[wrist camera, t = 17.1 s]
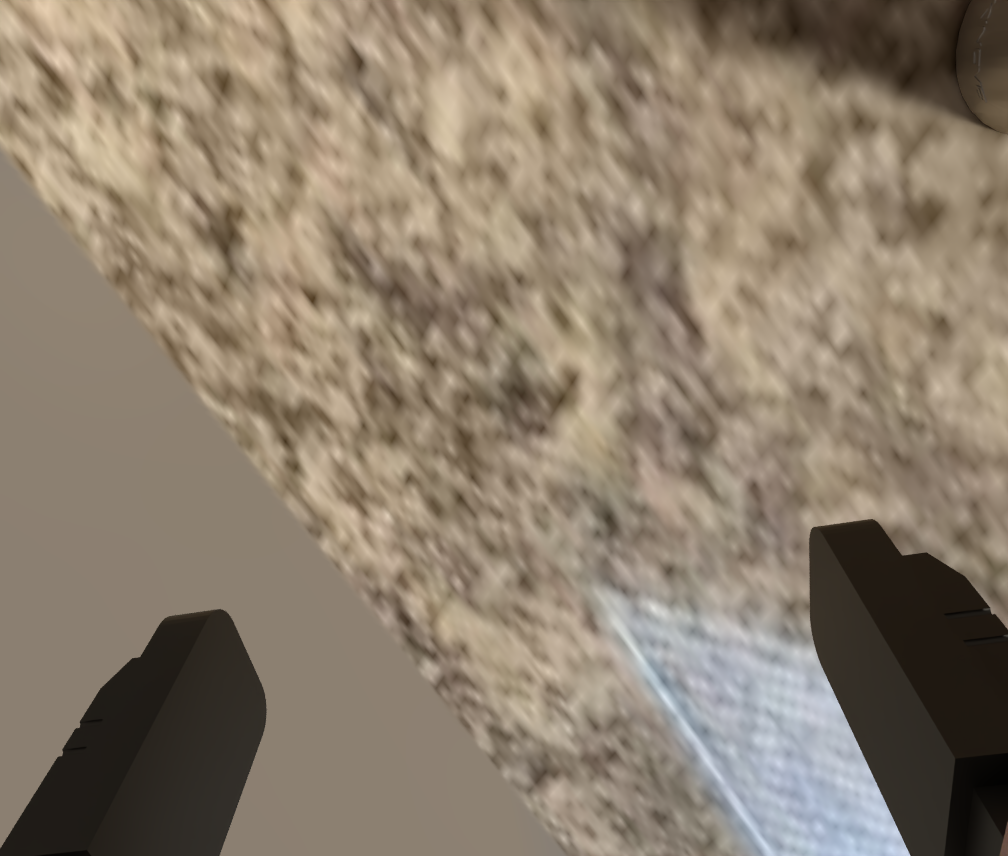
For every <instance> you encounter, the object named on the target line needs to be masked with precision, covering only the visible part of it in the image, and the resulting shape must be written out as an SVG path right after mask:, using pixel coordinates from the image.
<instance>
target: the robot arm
mask: <svg viewBox="0 0 1008 856" xmlns="http://www.w3.org/2000/svg"><path fill="white" fill-rule="evenodd" d="M956 75H957V79H958V83H959V87H960V90H961V94H962V96H963V98H964V99H965V101H966V103H967V105H968V107H969V108H970V110H971V111H972V112H973V113H974V114H975V115H976V116H977V117H978V118H979V119H980V120H981V121H982V122H983V123H984V124H986V125H987V126H989V127H991V128H993V129H995V130H996V131H998V132H1001V133H1005V134H1008V0H972V1H971V2H970V4H969V6H968V8H967V11H966V14H965V17H964V19H963V22H962V25H961V28H960V31H959V37H958V43H957V49H956ZM809 558H810V622H811V630H812V635H813V640H814V644H815V648H816V652H817V655H818V658H819V661H820V663H821V666H822V668H823V670H824V672H825V674H826V676H827V679H828V681H829V683H830V685H831V687H832V689H833V691H834V694H835V696H836V698H837V700H838V702H839V704H840V706H841V708H842V711H843V713H844V715H845V717H846V719H847V721H848V723H849V725H850V728H851V730H852V732H853V734H854V736H855V738H856V740H857V743H858V745H859V747H860V749H861V751H862V753H863V755H864V757H865V760H866V762H867V764H868V766H869V768H870V770H871V772H872V774H873V777H874V779H875V781H876V783H877V785H878V787H879V789H880V792H881V794H882V796H883V798H884V800H885V802H886V804H887V806H888V809H889V811H890V813H891V815H892V817H893V819H894V821H895V823H896V826H897V828H898V830H899V832H900V834H901V836H902V838H903V841H904V843H905V845H906V847H907V849H908V851H909V853H910V855H911V856H1008V629H1007V628H1006V627H1005V626H1004V624H1003V623H1002V622H1001V621H1000V619H999V618H998V617H997V616H996V614H993V615H992V613H991V611H990V607H989V606H988V605H987V603H986V602H985V601H984V600H983V598H982V597H981V596H980V595H979V593H978V592H977V591H976V590H975V588H974V587H973V586H972V585H971V583H970V582H969V581H968V580H967V578H966V577H965V576H963V575H962V574H960V573H958V572H957V571H955V570H954V569H952V568H950V567H949V566H947V565H946V564H944V563H942V562H941V561H939V560H938V559H936V558H934V557H933V556H931V555H930V554H928V553H919V554H912V555H904V556H902V555H901V554H900V552H899V551H898V549H897V548H896V547H895V545H894V544H893V542H892V541H891V540H890V538H889V537H888V535H887V534H886V533H885V531H884V530H883V528H882V527H881V526H880V525H879V523H878V522H877V521H875V520H873V519H868V520H861V521H854V522H847V523H840V524H833V525H826V526H819V527H813V528H812V530H811V532H810V538H809ZM265 723H266V699H265V693H264V690H263V687H262V684H261V682H260V680H259V677H258V675H257V673H256V671H255V669H254V666H253V664H252V662H251V660H250V658H249V656H248V653H247V651H246V649H245V647H244V645H243V642H242V640H241V638H240V636H239V633H238V631H237V629H236V627H235V625H234V622H233V620H232V619H231V617H230V616H229V614H228V613H227V612H225V611H224V610H221V609H218V610H211V611H203V612H196V613H189V614H182V615H175V616H169V617H167V618H165V619H164V620H163V621H162V622H161V623H160V625H159V627H158V628H157V630H156V631H155V633H154V635H153V636H152V638H151V640H150V642H149V643H148V645H147V647H146V648H145V650H144V652H143V653H142V655H141V657H139V658H132V659H131V660H130V661H129V662H128V663H127V664H126V665H125V666H124V667H123V668H122V669H121V670H120V671H119V672H118V673H117V674H115V675H114V677H112V678H111V679H110V680H109V681H108V682H107V683H106V684H105V685H104V686H103V687H102V688H101V689H100V690H99V692H98V694H97V695H96V697H95V698H94V700H93V702H92V704H91V705H90V706H89V708H88V710H87V711H86V713H85V714H84V716H83V718H82V719H81V721H80V728H76V729H75V730H74V732H73V734H72V735H71V737H70V738H69V740H68V741H67V743H66V745H65V746H64V748H63V755H62V756H60V757H58V758H57V759H56V761H55V762H54V764H53V765H52V767H51V769H50V770H49V772H48V773H47V775H46V777H45V778H44V780H43V781H42V783H41V785H40V786H39V788H38V790H37V791H36V793H35V794H34V796H33V797H32V799H31V801H30V802H29V804H28V805H27V807H26V808H25V810H24V812H23V813H22V815H21V816H20V818H19V820H18V821H17V823H16V824H15V826H14V828H13V829H12V831H11V833H10V834H9V836H8V837H7V839H6V840H5V842H4V844H3V845H2V847H1V848H0V856H219V855H220V852H221V850H222V847H223V844H224V841H225V838H226V836H227V833H228V830H229V827H230V825H231V822H232V819H233V816H234V813H235V811H236V808H237V805H238V802H239V800H240V796H241V794H242V791H243V788H244V786H245V783H246V780H247V777H248V774H249V772H250V769H251V766H252V763H253V761H254V758H255V755H256V752H257V749H258V746H259V744H260V741H261V738H262V736H263V732H264V728H265Z"/></svg>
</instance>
